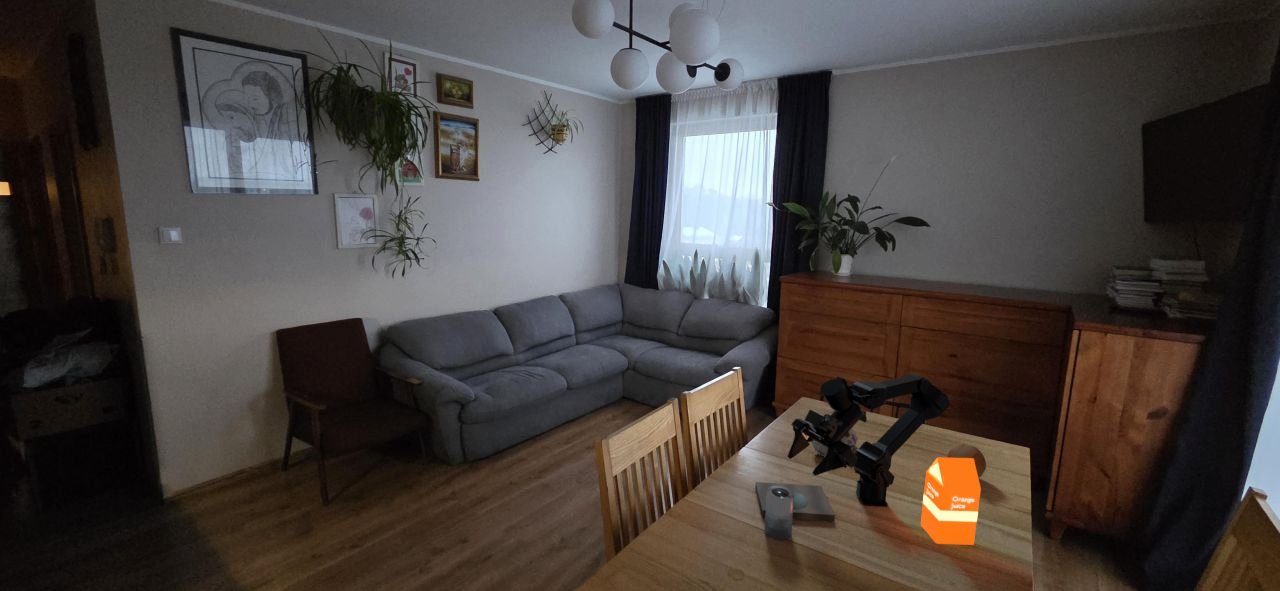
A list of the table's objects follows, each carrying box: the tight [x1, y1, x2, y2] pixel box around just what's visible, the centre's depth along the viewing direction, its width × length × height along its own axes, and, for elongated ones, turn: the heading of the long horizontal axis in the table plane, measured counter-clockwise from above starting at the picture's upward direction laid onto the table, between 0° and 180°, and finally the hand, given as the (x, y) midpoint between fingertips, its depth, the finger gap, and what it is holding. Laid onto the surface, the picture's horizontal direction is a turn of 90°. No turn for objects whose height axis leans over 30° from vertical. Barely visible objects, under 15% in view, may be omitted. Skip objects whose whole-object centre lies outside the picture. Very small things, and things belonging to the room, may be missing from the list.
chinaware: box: [804, 410, 859, 458], centre depth 173 cm, size 28×17×17 cm, turn 172°
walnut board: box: [754, 481, 836, 523], centre depth 138 cm, size 18×14×2 cm
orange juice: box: [920, 456, 982, 546], centre depth 124 cm, size 8×9×20 cm
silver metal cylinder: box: [764, 486, 794, 542], centre depth 125 cm, size 6×6×11 cm
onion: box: [946, 443, 987, 479], centre depth 152 cm, size 10×10×10 cm
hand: (800, 465), depth 129 cm, fingers open, 9 cm apart
